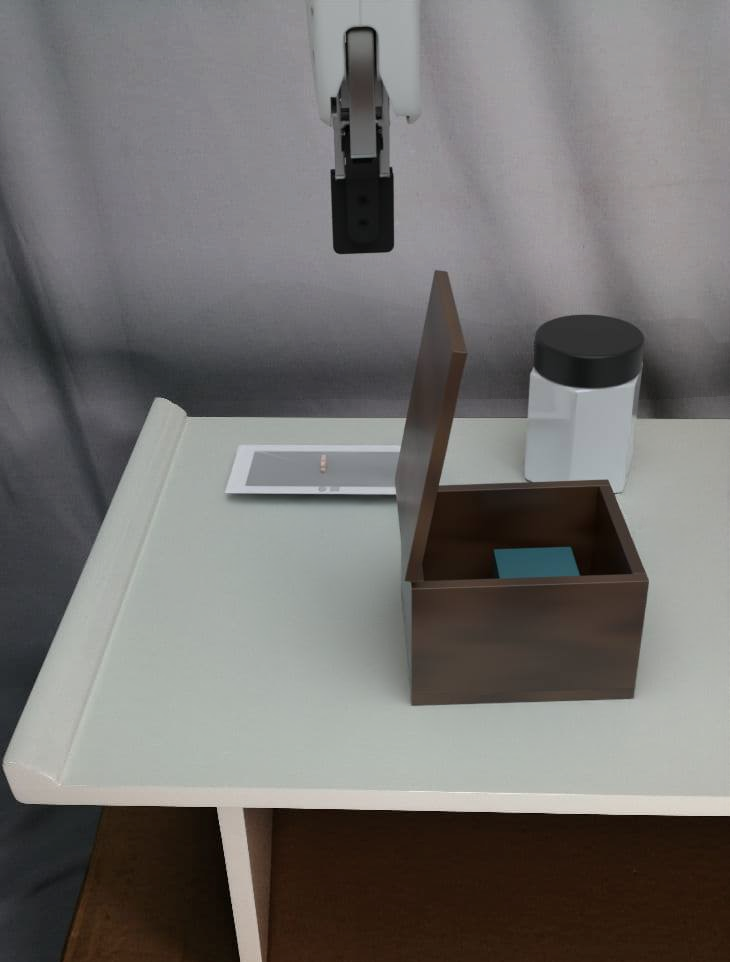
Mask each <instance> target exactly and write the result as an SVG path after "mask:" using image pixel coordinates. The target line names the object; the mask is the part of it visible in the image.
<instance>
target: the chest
mask: <svg viewBox="0 0 730 962" xmlns="http://www.w3.org/2000/svg"><path fill="white" fill-rule="evenodd" d="M550 547H571V549H572V552H573V555H574V558H575V562H576V565H577V568H578V571H579V574H580V576H561V577H531V578H502V579H492V570H493V550H494V549H521V548H550ZM649 579H650V578H649V577H648V575H647V572H646V570H645V567H644V564H643V562H642V560H641V557H640V555H639V553H638V549H637V547H636V545H635V542H634V539H633V537H632V535H631V532H630V530H629V527H628V525H627V522H626V520H625V517H624V515H623V511H622V510H621V507H620V504H619V502H618V499H617V497H616V495H615V493H614V492H613V490H612V487H611V485H610V482H609V480H608V479H604V480H576V481H548V482H531V481H524V482H498V483H497V482H496V483H495V482H494V483H493V482H492V483H467V484H466V483H465V484H442V485H441V484H439V488H438V493H437V497H436V502H435V506H434V511H433V516H432V520H431V525H430V530H429V534H428V539H427V543H426V548H425V553H424V557H423V562H422V566H421V571H420V576H419V580H418V582H417V583H416V582H407V581H405V579H404V569H403V559H402V549H401V548H400V596H401V607H402V618H403V629H404V639H405V651H406V663H407V671H408V682H409V692H410V694H409V695H410V703H411V706H429V705H431V706H432V705H457V704H458V705H461V704H489V703H490V704H491V703H493V704H494V703H519V702H520V703H521V702H522V703H523V702H555V701H556V702H557V701H583V700H584V701H585V700H587V701H588V700H590V701H591V700H618V699H620V700H621V699H622V700H623V699H634V697H635V691H636V684H637V675H638V668H639V661H640V654H641V646H642V639H643V632H644V625H645V624H644V623H645V616H646V609H647V603H648V602H647V601H648V593H649V586H650V580H649Z"/></svg>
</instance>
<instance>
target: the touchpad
mask: <svg viewBox="0 0 730 962" xmlns="http://www.w3.org/2000/svg"><path fill="white" fill-rule="evenodd" d="M400 449H401V445H395V444H394V445H392V444H391V445H390V444H389V445H388V444H387V445H385V444H383V445H380V444H379V445H378V444H377V445H372V444H371V445H365V444H361V445H359V444H357V445H355V444H353V445H352V444H351V445H350V444H349V445H346V444H345V445H342V444H341V445H339V444H337V445H336V444H334V445H333V444H328V445H326V444H317V445H316V444H239V445H238V448H237V451H236V454H235V458H234V461H233V464H232V467H231V470H230V474H229V477H228V480H227V483H226V487H225V490H224V494H264V495H265V494H266V495H267V494H270V495H271V494H274V495H275V494H276V495H277V494H278V495H282V494H284V495H285V494H286V495H287V494H288V495H292V494H293V495H295V494H296V495H396V488H395V475H396V469H397V464H398V459H399V454H400Z"/></svg>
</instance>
